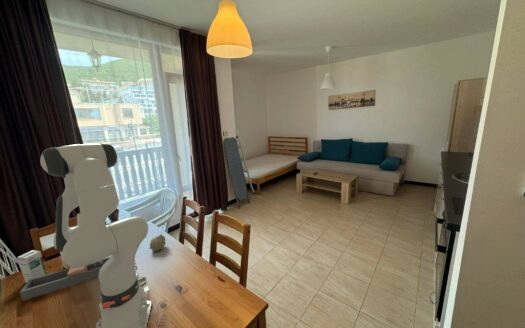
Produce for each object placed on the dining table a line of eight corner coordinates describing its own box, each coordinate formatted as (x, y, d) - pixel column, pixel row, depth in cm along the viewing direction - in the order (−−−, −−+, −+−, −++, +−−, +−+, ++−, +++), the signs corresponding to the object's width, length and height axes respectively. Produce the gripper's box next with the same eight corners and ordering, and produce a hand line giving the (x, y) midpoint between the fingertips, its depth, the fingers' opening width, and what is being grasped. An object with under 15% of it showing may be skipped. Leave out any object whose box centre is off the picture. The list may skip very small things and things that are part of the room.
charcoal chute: (112, 272, 106) (110, 265, 105) (22, 300, 90) (19, 292, 90) (114, 263, 114) (112, 255, 113) (31, 287, 98) (29, 279, 97)
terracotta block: (85, 277, 102) (83, 269, 101) (69, 282, 99) (67, 274, 98) (87, 270, 107) (86, 262, 106) (72, 274, 104) (70, 266, 103)
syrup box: (33, 284, 100) (25, 257, 97) (24, 282, 101) (16, 256, 98) (47, 275, 106) (40, 250, 103) (39, 274, 107) (31, 249, 104)
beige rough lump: (163, 248, 130) (165, 232, 131) (166, 252, 123) (169, 235, 124) (146, 249, 124) (149, 232, 125) (149, 254, 117) (152, 236, 119)
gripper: (63, 249, 96) (70, 275, 99) (116, 237, 106) (120, 260, 109) (67, 243, 101) (73, 267, 104) (117, 231, 111) (121, 254, 114)
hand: (98, 263), depth 106 cm, fingers closed
